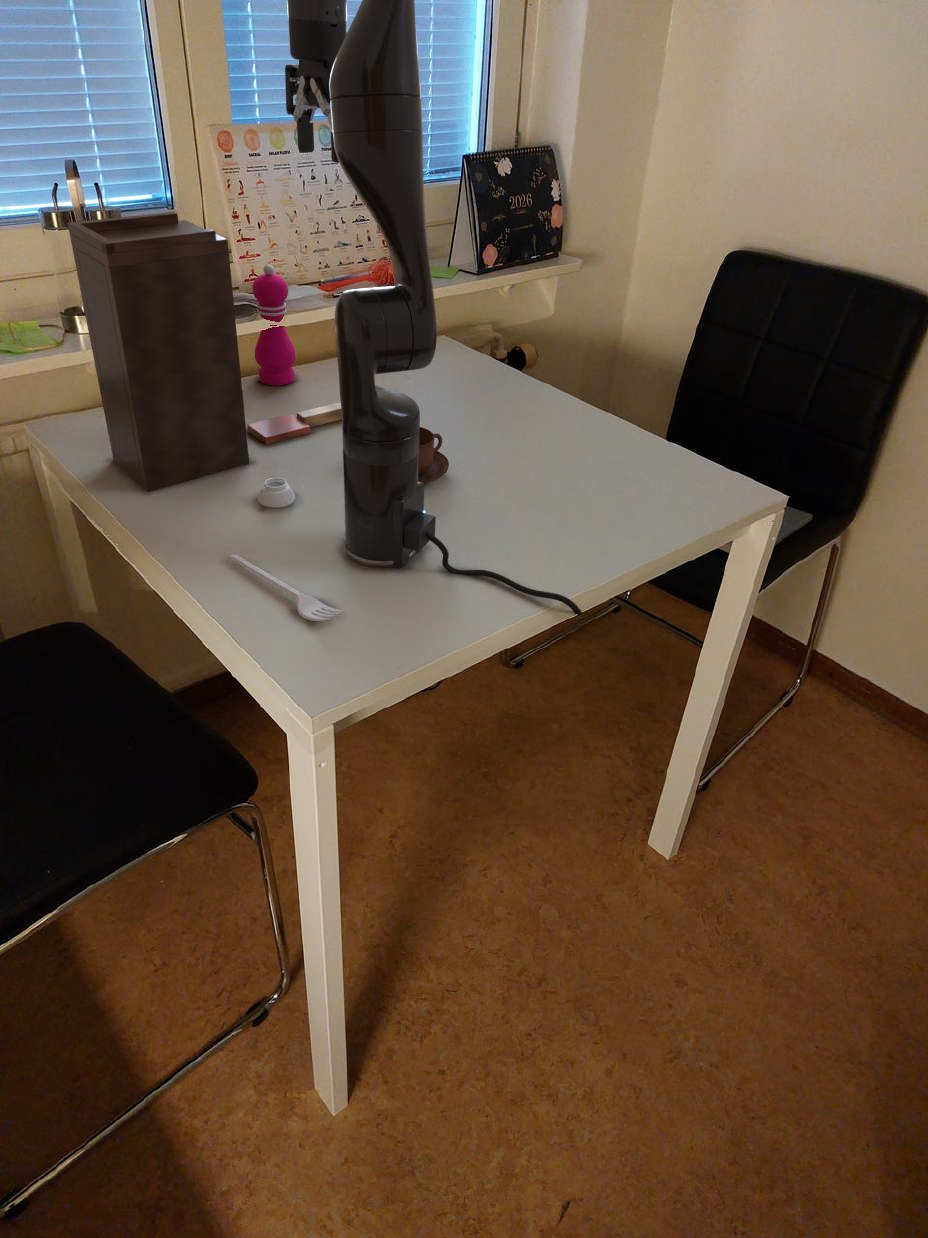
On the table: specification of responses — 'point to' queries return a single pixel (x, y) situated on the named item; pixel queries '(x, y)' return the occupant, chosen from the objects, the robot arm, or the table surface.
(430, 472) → the cup and saucer
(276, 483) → the white jar
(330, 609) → the fork
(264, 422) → the spatula
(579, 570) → the table surface
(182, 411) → the tall wooden box
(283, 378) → the pepper mill
